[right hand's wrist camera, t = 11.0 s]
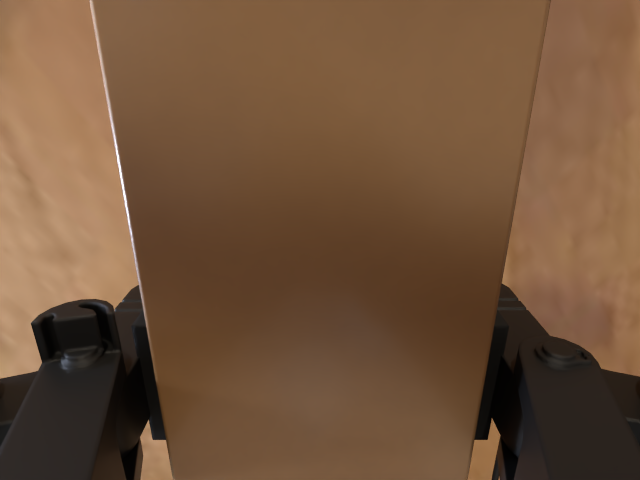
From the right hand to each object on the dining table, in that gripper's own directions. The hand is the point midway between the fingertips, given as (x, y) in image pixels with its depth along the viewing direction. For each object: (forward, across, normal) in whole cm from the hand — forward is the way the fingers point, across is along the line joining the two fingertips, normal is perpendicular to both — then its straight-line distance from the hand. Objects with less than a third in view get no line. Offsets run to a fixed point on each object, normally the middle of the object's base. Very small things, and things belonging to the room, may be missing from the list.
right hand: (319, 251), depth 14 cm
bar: (+1, 0, -28) cm, 28 cm away
